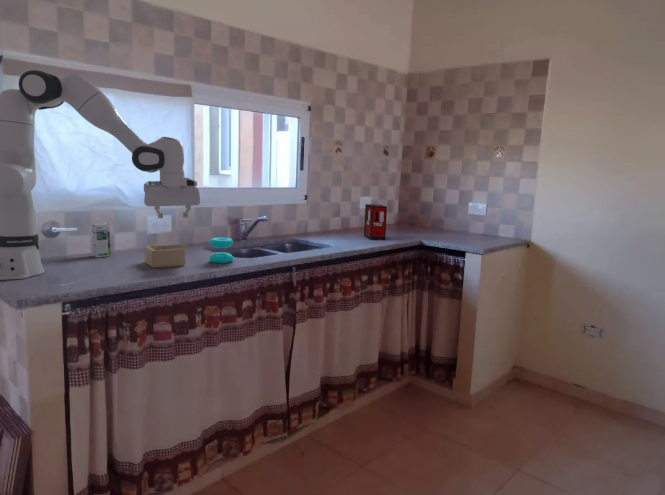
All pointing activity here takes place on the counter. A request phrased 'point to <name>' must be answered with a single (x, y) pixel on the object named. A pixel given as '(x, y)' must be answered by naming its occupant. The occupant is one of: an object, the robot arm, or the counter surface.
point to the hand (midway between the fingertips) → (173, 217)
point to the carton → (164, 257)
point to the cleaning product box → (375, 221)
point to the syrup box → (101, 240)
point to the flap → (171, 246)
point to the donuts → (221, 256)
